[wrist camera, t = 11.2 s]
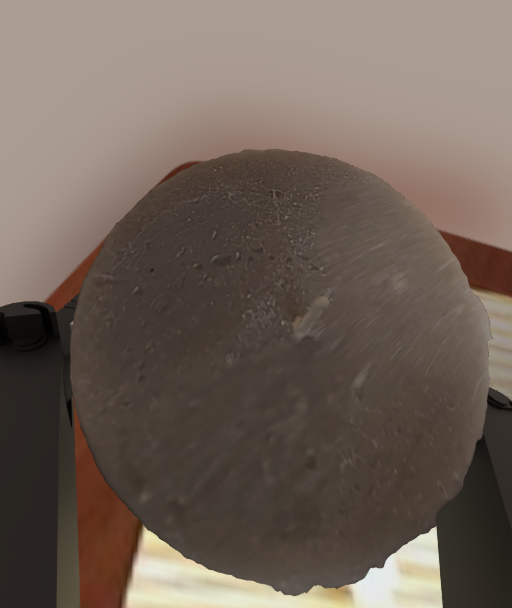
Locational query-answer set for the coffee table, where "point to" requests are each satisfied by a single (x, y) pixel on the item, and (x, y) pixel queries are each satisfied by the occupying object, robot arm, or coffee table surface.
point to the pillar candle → (280, 368)
